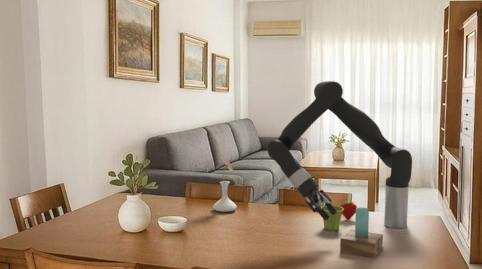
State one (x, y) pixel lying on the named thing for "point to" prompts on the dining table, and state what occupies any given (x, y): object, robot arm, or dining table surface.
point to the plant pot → (333, 218)
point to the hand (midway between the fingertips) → (331, 216)
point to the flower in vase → (225, 194)
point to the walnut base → (361, 244)
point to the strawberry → (348, 209)
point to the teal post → (362, 223)
